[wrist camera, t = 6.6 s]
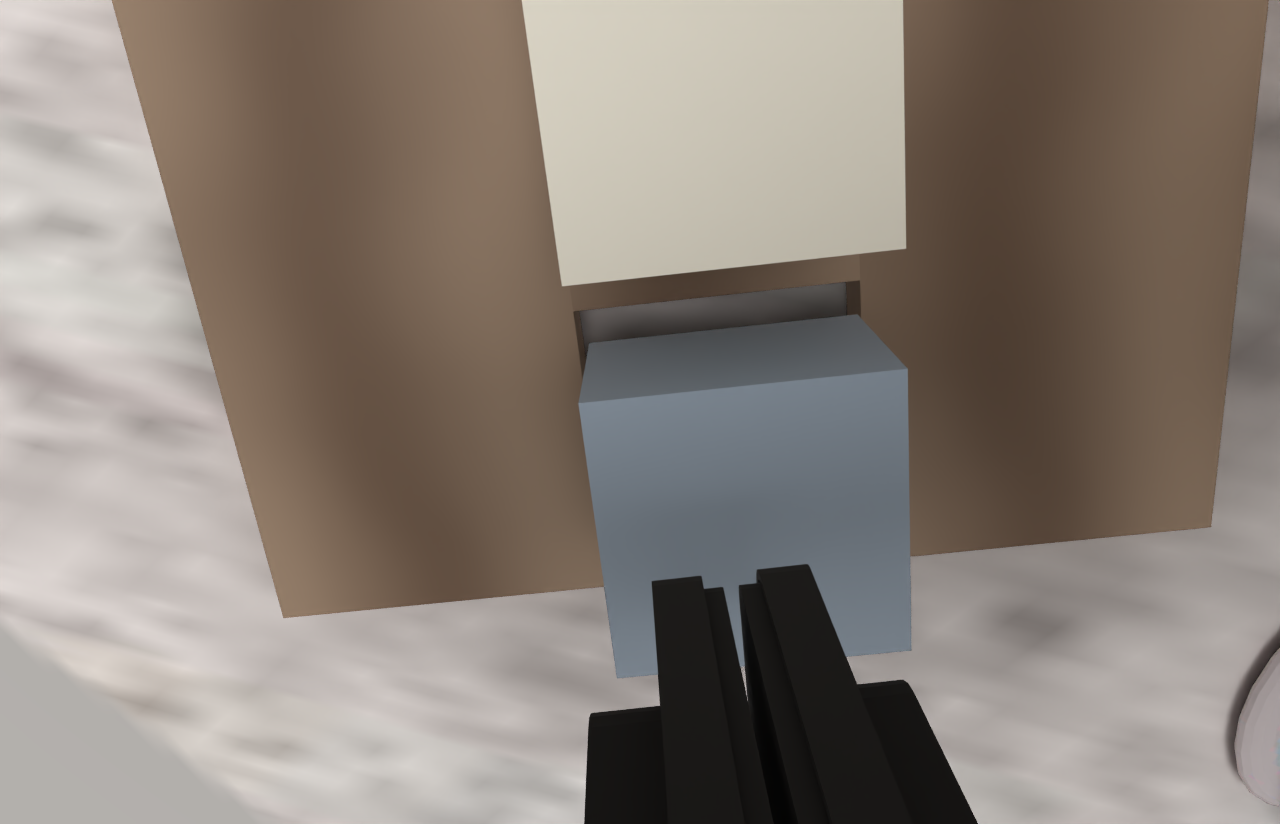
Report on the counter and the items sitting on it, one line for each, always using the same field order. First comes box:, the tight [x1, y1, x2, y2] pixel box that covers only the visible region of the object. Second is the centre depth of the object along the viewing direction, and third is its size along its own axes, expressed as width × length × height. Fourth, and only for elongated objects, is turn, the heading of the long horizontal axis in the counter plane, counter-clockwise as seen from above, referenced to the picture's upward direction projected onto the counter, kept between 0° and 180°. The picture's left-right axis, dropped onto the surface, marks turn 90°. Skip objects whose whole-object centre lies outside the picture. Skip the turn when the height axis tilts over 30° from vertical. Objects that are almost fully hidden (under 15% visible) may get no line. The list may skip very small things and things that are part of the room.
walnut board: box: [112, 0, 1269, 618], centre depth 16 cm, size 18×18×1 cm
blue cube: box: [578, 314, 911, 678], centre depth 15 cm, size 4×4×3 cm
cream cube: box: [522, 0, 906, 286], centre depth 13 cm, size 4×4×3 cm
